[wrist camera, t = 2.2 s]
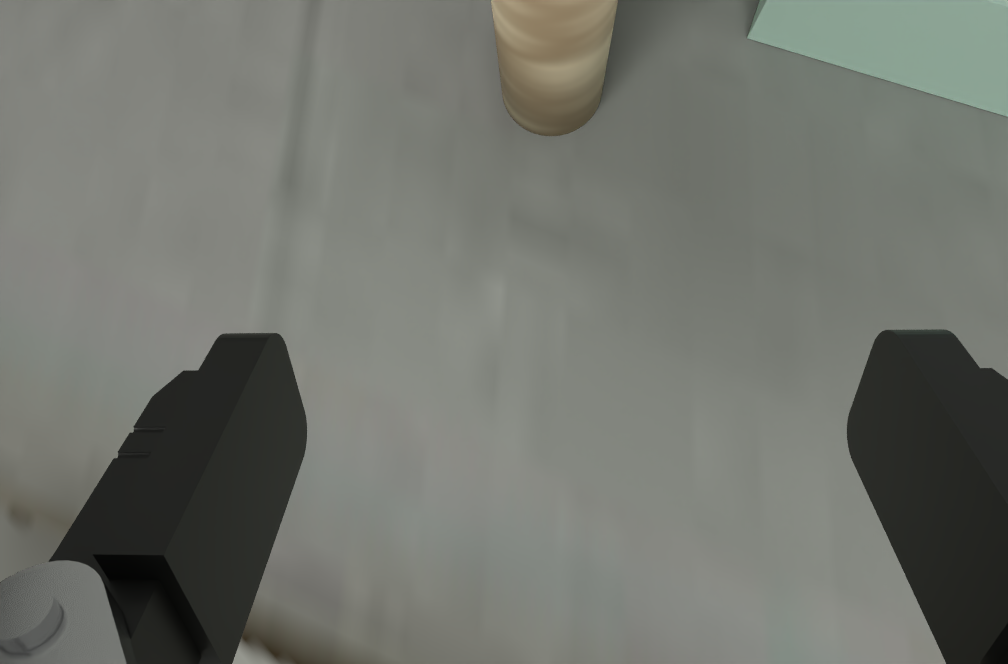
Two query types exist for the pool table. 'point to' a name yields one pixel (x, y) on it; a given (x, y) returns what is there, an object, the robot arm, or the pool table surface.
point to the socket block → (901, 42)
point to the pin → (552, 60)
